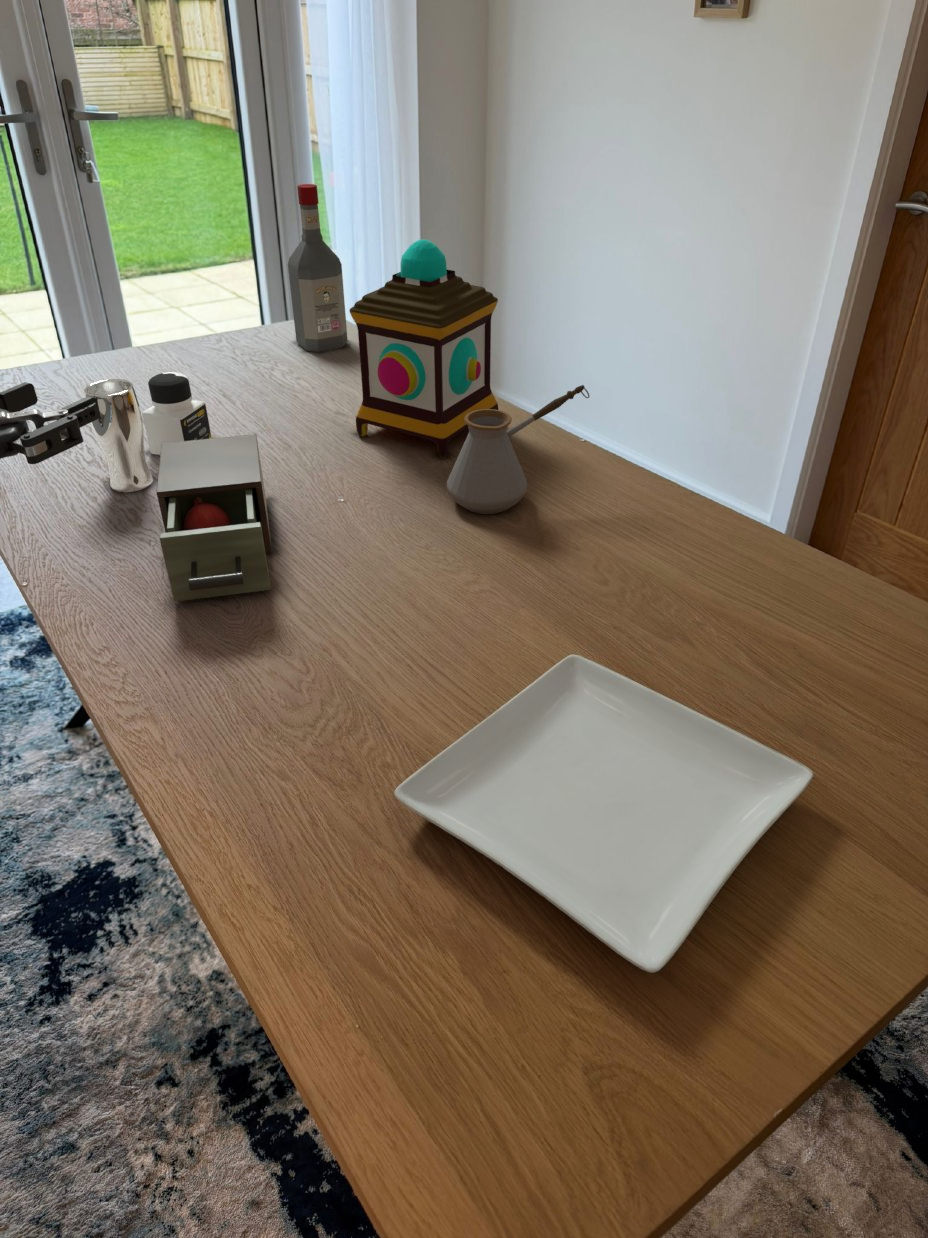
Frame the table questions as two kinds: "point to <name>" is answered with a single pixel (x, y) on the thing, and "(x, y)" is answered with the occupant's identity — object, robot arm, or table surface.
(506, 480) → the coffee pot
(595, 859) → the square plate
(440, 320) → the decorative lantern
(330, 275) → the liquor
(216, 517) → the onion
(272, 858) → the table surface
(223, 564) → the drawer
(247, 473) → the cabinet
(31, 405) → the robot arm
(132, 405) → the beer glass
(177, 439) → the medicine bottle
